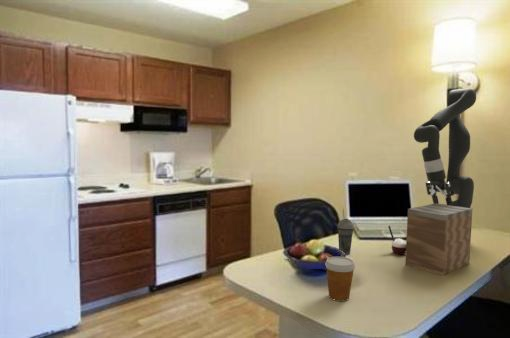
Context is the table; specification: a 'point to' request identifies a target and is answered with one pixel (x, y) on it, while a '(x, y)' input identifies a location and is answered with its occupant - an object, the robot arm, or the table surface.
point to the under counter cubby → (438, 237)
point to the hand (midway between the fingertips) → (442, 204)
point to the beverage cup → (345, 235)
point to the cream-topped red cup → (398, 245)
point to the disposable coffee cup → (339, 277)
